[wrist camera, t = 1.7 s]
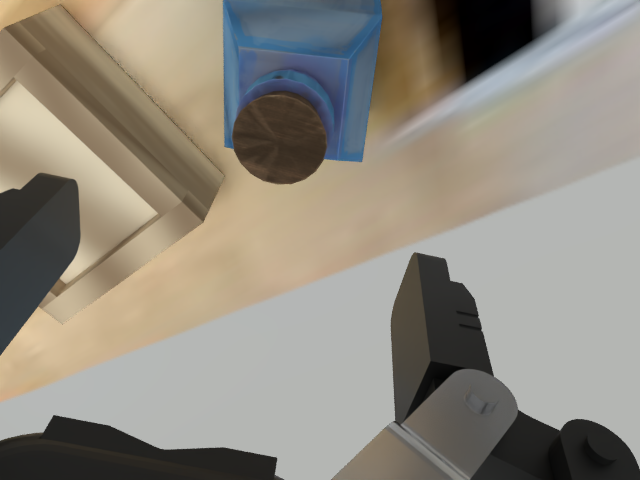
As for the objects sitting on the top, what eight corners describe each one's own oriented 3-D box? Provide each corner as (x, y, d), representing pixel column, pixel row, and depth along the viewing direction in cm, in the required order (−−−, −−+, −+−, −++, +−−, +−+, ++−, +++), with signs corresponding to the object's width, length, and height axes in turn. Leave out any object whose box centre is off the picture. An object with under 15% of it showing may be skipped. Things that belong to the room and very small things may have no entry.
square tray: (60, 4, 28) (3, 27, 24) (224, 176, 33) (203, 222, 28) (-62, 139, 33) (-128, 179, 28) (97, 272, 37) (62, 324, 33)
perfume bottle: (248, 100, 30) (190, 212, 20) (250, -25, 27) (181, 34, 17) (362, 112, 30) (360, 230, 20) (379, -11, 27) (387, 56, 17)
